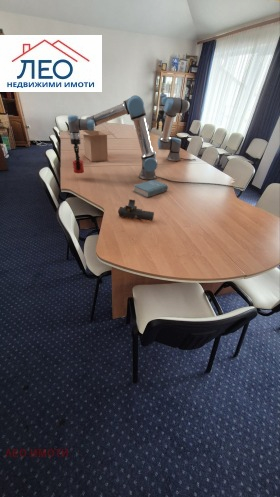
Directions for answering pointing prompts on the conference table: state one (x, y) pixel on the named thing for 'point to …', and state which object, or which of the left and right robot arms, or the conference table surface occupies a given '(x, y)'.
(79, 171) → the canister
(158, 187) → the book
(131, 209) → the laser sight
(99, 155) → the box
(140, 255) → the conference table surface
